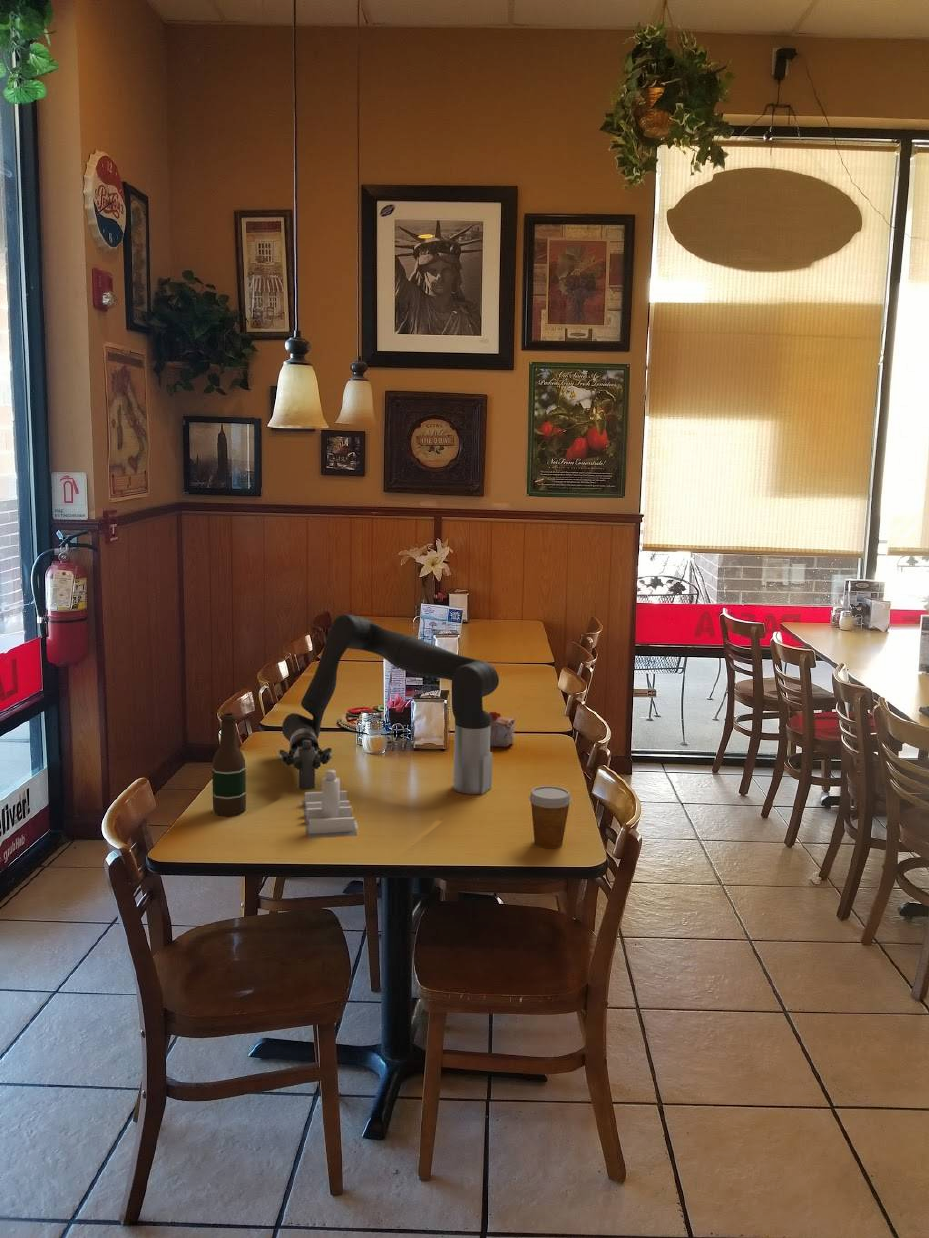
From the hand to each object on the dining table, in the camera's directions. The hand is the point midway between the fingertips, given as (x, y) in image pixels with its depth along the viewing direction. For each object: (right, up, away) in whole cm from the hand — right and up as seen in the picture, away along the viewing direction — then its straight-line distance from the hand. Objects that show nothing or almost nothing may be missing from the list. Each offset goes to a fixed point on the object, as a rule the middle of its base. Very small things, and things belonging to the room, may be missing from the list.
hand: (307, 765), depth 255 cm
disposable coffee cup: (+58, -14, -25) cm, 65 cm away
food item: (+47, -1, +50) cm, 69 cm away
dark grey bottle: (-1, -7, +4) cm, 8 cm away
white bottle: (+9, -11, -22) cm, 26 cm away
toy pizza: (+13, +3, +70) cm, 72 cm away
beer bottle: (-17, -10, -11) cm, 22 cm away
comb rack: (+7, -11, -17) cm, 21 cm away
